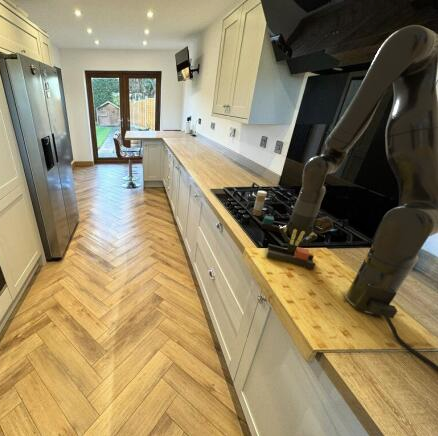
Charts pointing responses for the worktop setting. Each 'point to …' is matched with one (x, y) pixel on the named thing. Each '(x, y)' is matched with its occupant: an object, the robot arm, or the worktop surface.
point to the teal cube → (268, 220)
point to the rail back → (274, 227)
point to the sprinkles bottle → (259, 202)
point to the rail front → (288, 257)
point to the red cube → (301, 253)
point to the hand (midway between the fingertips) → (290, 251)
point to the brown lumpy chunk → (323, 225)
